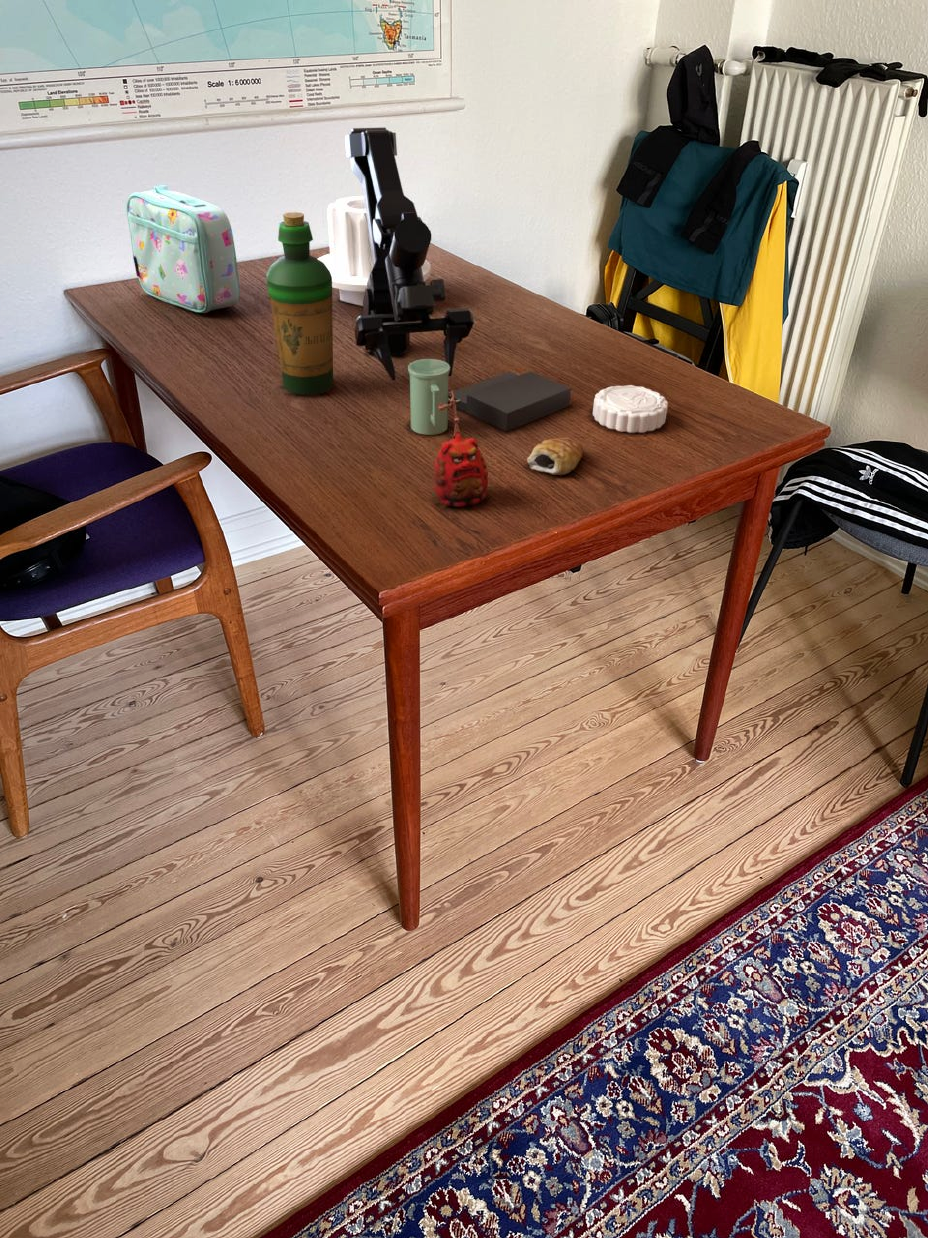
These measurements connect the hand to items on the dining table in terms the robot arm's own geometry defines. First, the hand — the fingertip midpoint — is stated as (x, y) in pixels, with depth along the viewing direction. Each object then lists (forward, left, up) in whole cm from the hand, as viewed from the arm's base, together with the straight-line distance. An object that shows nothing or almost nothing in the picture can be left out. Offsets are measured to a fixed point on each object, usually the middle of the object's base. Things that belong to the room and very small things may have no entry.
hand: (422, 377), depth 145 cm
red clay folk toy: (+11, -25, -7) cm, 28 cm away
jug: (+3, -5, -6) cm, 9 cm away
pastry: (+23, -12, -7) cm, 27 cm away
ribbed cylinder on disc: (-24, +53, -7) cm, 58 cm away
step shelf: (+13, +7, -6) cm, 16 cm away
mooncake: (+33, +7, -7) cm, 35 cm away
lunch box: (-60, +42, -7) cm, 74 cm away
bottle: (-22, +6, -7) cm, 23 cm away
